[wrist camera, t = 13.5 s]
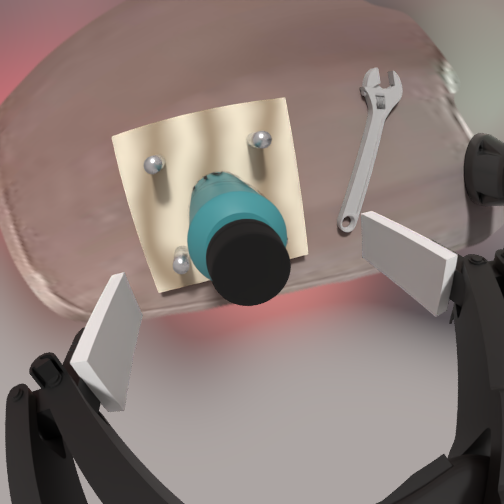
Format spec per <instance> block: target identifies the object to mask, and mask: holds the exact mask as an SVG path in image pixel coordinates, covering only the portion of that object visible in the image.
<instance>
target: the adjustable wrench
mask: <svg viewBox="0 0 504 504" xmlns="http://www.w3.org/2000/svg"><path fill="white" fill-rule="evenodd" d="M388 77H389V83H390V87H388V88H387V89H383V88H381V87H380V86H379V85H378V84H379V83H380V77H379V71H378V68H373V69H370V70H369V71H368V72H367V73H366V74H365V76H364V79H363V84H362V87H360V90H361V95H362V96H364V97H365V99H366V102H367V106H368V118H367V122H366V126H365V130H364V133H363V137H362V141H361V144H360V148H359V152H358V155H357V158H356V162H355V165H354V169H353V172H352V175H351V179H350V182H349V185H348V188H347V191H346V195H345V198H344V201H343V204H342V207H341V210H340V213H339V216H338V219H337V225H338V227H339V228H340V229H341V230H342V231H344V232H350V231H352V230H353V229H354V228H355V226H356V223H357V220H358V217H359V214H360V211H361V207H362V204H363V201H364V197H365V194H366V191H367V187H368V184H369V180H370V177H371V173H372V170H373V166H374V162H375V158H376V154H377V150H378V146H379V142H380V138H381V134H382V130H383V125H384V122H385V119H386V117H387V116H388V114H389V113H390V111H391V110H392V108H393V107H394V106H395V105H396V104H397V102H398V101H399V100H400V99H401V96H402V84H401V81H400V78H399V77H398V75H397V74H396V72H394V71H390V72H388ZM377 108H381V109H377ZM346 216H348V217H350V219H351V221H350V224H349V225H348V226H347V227H343V226H342V221H343V219H344V218H345V217H346Z"/></svg>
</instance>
